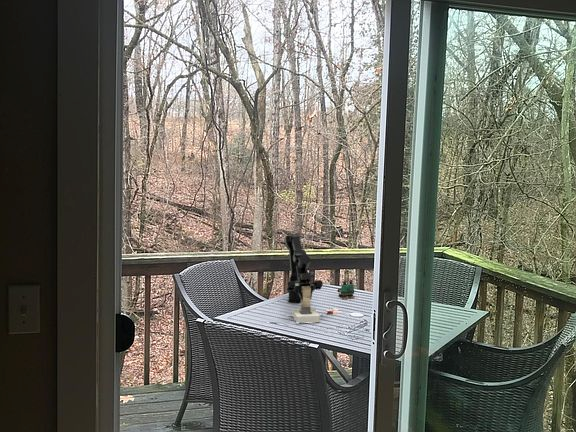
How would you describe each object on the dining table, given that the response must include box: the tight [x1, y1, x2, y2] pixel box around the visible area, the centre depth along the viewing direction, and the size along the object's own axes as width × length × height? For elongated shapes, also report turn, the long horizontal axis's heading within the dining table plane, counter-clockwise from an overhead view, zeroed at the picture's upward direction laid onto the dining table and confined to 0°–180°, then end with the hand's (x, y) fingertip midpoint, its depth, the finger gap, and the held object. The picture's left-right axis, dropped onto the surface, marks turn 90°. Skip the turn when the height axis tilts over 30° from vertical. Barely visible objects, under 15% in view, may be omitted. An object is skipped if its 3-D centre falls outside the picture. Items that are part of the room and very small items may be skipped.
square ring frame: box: [291, 307, 320, 323], centre depth 324 cm, size 12×12×4 cm
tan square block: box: [300, 286, 312, 313], centre depth 322 cm, size 4×4×13 cm
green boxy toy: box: [337, 279, 355, 300], centre depth 361 cm, size 9×11×10 cm
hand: (306, 299), depth 321 cm, fingers closed on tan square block, 4 cm apart
